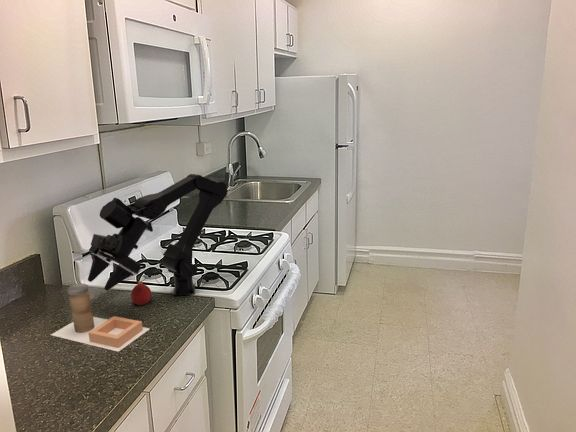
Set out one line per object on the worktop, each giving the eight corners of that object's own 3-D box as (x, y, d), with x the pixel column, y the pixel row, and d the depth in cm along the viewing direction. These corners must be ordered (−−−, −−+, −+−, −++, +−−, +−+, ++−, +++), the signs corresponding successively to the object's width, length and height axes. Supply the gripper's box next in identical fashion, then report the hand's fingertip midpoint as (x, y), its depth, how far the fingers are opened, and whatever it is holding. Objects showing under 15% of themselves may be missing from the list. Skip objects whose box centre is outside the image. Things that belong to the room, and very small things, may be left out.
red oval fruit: (147, 311, 144) (143, 286, 142) (129, 309, 146) (125, 285, 143) (155, 302, 150) (153, 278, 148) (138, 301, 151) (135, 277, 149)
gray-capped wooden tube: (77, 324, 135) (70, 284, 132) (96, 322, 136) (89, 282, 133) (72, 333, 130) (65, 292, 127) (92, 331, 131) (85, 290, 128)
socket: (114, 324, 135) (113, 316, 134) (142, 329, 131) (141, 321, 130) (89, 341, 126) (88, 332, 126) (118, 347, 123) (117, 338, 122)
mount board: (51, 338, 131) (50, 334, 130) (85, 318, 141) (85, 314, 141) (119, 355, 121) (118, 351, 121) (150, 332, 132) (149, 328, 132)
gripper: (90, 216, 139) (58, 264, 134) (125, 228, 127) (90, 281, 122) (119, 236, 147) (89, 281, 142) (154, 248, 135) (123, 299, 130)
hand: (97, 285), depth 134 cm, fingers open, 9 cm apart
